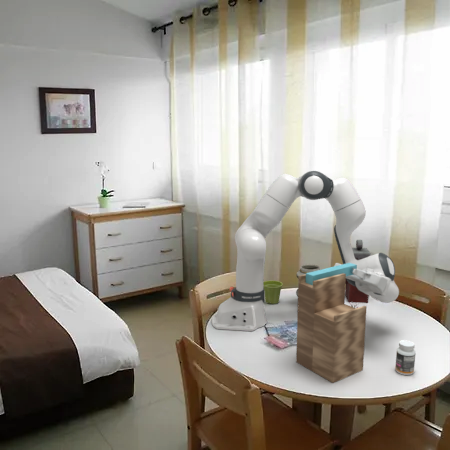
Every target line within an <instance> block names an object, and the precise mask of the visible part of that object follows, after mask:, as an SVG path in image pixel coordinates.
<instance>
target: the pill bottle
mask: <svg viewBox="0 0 450 450" xmlns="http://www.w3.org/2000/svg"><path fill="white" fill-rule="evenodd" d="M415 346H416V344H415V342H413V341H412V340H407V339H402V340H399V342H398V347H397V348H396V355H395V356H396V357H395V371H396V372H397V373H398V374H400V375H403V376H404V375H405V376H410V375H413V374H414V371H415V364H416V363H415V362H416V350H415V348H416V347H415Z"/></svg>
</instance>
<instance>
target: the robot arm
mask: <svg viewBox="0 0 450 450" xmlns="http://www.w3.org/2000/svg"><path fill="white" fill-rule="evenodd" d="M300 197H302V198H305V199H306V200H309V201H316V200H322V199H326V201H328V203H329V205H330V206H331V209H332V210H333V213H334V216H335V225H334V227H333V234H334V236H335V237H334V238H335V241H336V245H337V247H338V251H339V255H340V258H341V262H342V264H347V263H352V264H356V265H357V269H354V268H352V269H351V273H352V274H354V275H350V276H346V279H347V281H348V282H349V283H350V284H351V285H353V286H355V287H357V289H358V290H360V291H361V292H363V293H365V294H367V295H369V296H368V297H371V298H372V299H374V300H376V301H378V302H380V303H385V304H390V303H393V302H394V301H396V299H398V297H399V294H400V289H399V287H398V285H397V284H396V282H395V276H396V266H395V264H394V262H393V260H392V259H391V257H390V256H388V255H387V254H385V253H383V252H378V253H375V254H371V256H369V257H366V258H363V259H360V260H356V259H355V257H354V253H353V250H352V248H353V247H352V244H351V239H350V238H351V236H352V234H353V232H354V231H355V230H356V229H357V228H359V227H360V226H361V225H362V223H364V220H365V217H366V211H367V210H366V207H365V204H364V203H363V200H362V198H361V197H360V195H359V193H358V191H357V189H356V188H355V186H354V185H353V184H352V182H351V181H350V180H349V179H348V178H347V177H343V176H341V177H336V178H333V179H331V178H329V177H328V176H327V175H326V174H324V173H322V172H321V171H319V170H318V171H317V170H310V171H307V172H305V173H304V174H302V175H301V176H299V177H295V176H293V175H292V174H289V173H282V174H280V175H279V176H277V178H276V179H275V180H274V181H273V182H272V183H271V184H270V186H269V187H268V189H267V190H266V191H265V193H264V195H263V196H262V197H261V199H260V200H259V201H258V204H256V206H255V208H254V209H253V211H251V213H250V214H249V215H248V216H247V218H246V219H245V220H244V221H243V223H242V224H241V225H240V226H239V227H238V229H237V230H236V231H235V234H234V242H235V245H236V251H237V252H236V265H235V266H236V267H235V287H234V286H230V287H229V292H230V296H229V298H227V299H226V300H224V301H223V302H222V303H220V304H219V305H218V308H217V312H216V313H215V314H214V315H212V317H211V325H212V327H213V328H214V329H216V330H230V331H243V332H244V331H246V332H254V331H256V330H257V329H260V328H262V327H264V326H266V325H267V323H268V319H267V316H266V313H265V291H264V288H263V282H265V281H264V275H265V274H264V271H265V262H266V254H267V242H266V237H268V235H269V234H270V233H271V232H272V231H273V230H274V229H275V228H277V226H279V224H280V223H281V221H282V220H283V218H284V217H285V216H286V214H287V212H288V211H289V210H290V208H291V206H292V205H293V203H294V202H295V201H296V200H297V198H300ZM342 264H341V263H339V262H335V263H334V265H333V267H334V266H338V265H342ZM265 324H266V325H265Z"/></svg>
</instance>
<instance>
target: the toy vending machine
mask: <svg viewBox="0 0 450 450" xmlns="http://www.w3.org/2000/svg"><path fill="white" fill-rule="evenodd" d="M363 243H364V242H363V239H356V242H355V247H352V250H353V253H354V257H355V259H356V260H360V259H363V258H366V257H369V256H371V255H372V254H371V253H372V252H370V250H369V249H368V248H367V247H364V245H363ZM369 297H370V296H369V295H367V294H365V293H363V292H361V291H360V290H358V289H357V287H355V286H353V285H351V284H350V283H349V282H348V281H347V279H346V281H345V298H346V301H347V303H349V302H350V303H353V304H354V303H355V304H361V303H362V304H368V303H369Z"/></svg>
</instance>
